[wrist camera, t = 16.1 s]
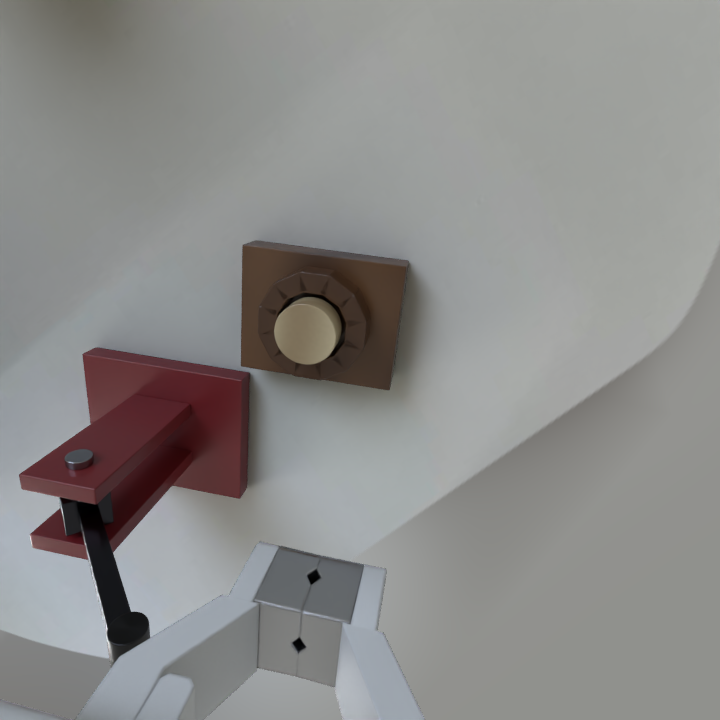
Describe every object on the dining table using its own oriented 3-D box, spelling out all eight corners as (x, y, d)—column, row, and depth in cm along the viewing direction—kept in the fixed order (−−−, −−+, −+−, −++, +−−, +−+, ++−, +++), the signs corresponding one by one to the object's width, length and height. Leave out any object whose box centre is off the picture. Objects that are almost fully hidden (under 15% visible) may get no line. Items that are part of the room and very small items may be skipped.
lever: (166, 627, 18) (95, 658, 17) (171, 714, 20) (108, 748, 19) (99, 445, 29) (51, 455, 27) (107, 513, 30) (62, 526, 29)
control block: (409, 260, 30) (404, 272, 26) (392, 377, 33) (386, 402, 29) (255, 240, 31) (230, 248, 27) (252, 355, 34) (229, 376, 30)
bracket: (249, 372, 34) (161, 461, 24) (247, 487, 38) (169, 610, 27) (95, 347, 36) (-56, 420, 25) (107, 460, 39) (-20, 568, 29)
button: (344, 301, 28) (338, 308, 26) (339, 358, 29) (333, 369, 27) (284, 292, 28) (275, 299, 27) (281, 349, 29) (272, 359, 28)
